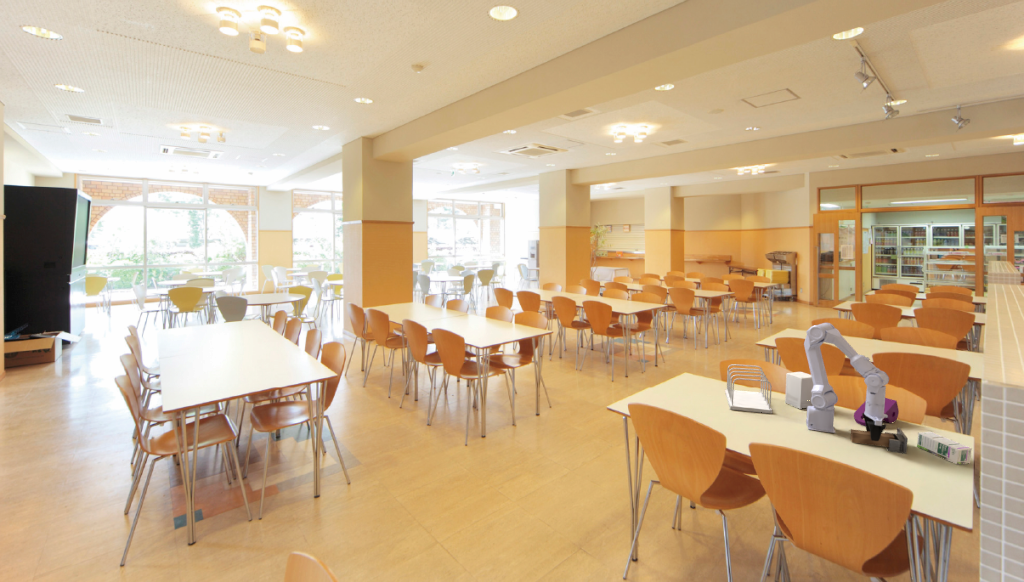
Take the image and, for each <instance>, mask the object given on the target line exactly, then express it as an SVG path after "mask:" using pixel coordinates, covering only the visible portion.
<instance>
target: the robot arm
mask: <svg viewBox="0 0 1024 582" xmlns="http://www.w3.org/2000/svg"><path fill="white" fill-rule="evenodd" d="M805 332H806V336H805V340H804V342H803V346H804V347H803V348H804V350H805V351H804V352H805V355H806V358H807V362H808V367H809V372H810V375H811V376H812V380H813V385H814V386H813V389H812V391H811V392H812V398H811V402H812V404H813V406H808V407H807V408H806V420H805V422H806V427H807V429H808V430H812V431H817V432H819V431H820V432H826V433H833V434H836V430H835V426H834V421H835V405H836V404H837V403H838V401H839V399H838V395H837V393H835V390H834V387H833V386H832V385H830V383H829V380H828V375H827V371H826V368H825V363H824V358H823V354H822V350H821V346H822V345H823V344H824V343H827V344H833V346H835V347H836V348H838V350H840V352H841V353H842V354H844V355H845V356H846V357H847V358H848V359H849V360H850V363H849V364H850V365H851V366H852V367H853V368H854V369H855V370H856V371H857V372H858V374H859V375H860V376H861V377H862V378H863V379H864V380H863V381H864V383H865V385H866V394H865V395H866V396H865V401H866V405H865V412H864V413H862V415H863V417H864V418H863V420H865V424H866V426H865V431H870V435H871V440H872V441H879V439H880V436H881V434H882V433H884V431H885V430H886V429H887V425H886V424H885V423H884V424H883V421H882V420H883V419H884V418H888V416H887V415H886V414H884V406H885V398H886V389H887V388H886V387H887V386H886V385H887V384H888V383H889V381H890V377H889V375H888V374H887V372H885V371H883V370H881V369H880V368H879V367H876V366H875V364H873V363H872V362H871V359H870V357H868V356H866V355H863V354H859V353H858V351H856V350H855V349H854V347H853V346H851V344H850V343H849V342H848V341H847V340H846V339H845V338H844V337H843V335H842V334H841V332H840V330H839V329H837V328H835V326H834V325H833V324H832V323H830V322H823V323H819V324H815V325H811V326H810V327H809V328H808V329H807V330H806V331H805Z"/></svg>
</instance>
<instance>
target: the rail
mask: <svg viewBox="0 0 1024 582" xmlns="http://www.w3.org/2000/svg"><path fill="white" fill-rule="evenodd" d="M889 439H894V440H895V437H894V436H893V434H887V433H885V432H882V434H881V436H880V439H879V441H872V440H871V435H870V431H867V430H862V429H861V430H860V429H854V428H853V429H852V428H851V429H850V441H851V443H852V444H855V443H856V444H862V445H869V446H877V447H885V448H886V447H889Z"/></svg>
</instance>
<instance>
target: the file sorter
mask: <svg viewBox="0 0 1024 582" xmlns="http://www.w3.org/2000/svg"><path fill="white" fill-rule="evenodd" d="M732 366H735V367H732ZM736 366H737V367H736ZM730 367H732V368H730ZM741 367H751V368H741ZM758 368H759V369H758ZM741 370H742V371H741ZM735 373H737V374H735ZM738 373H740V374H738ZM741 373H743V374H741ZM732 374H734V375H732ZM752 374H754V375H752ZM756 374H758V375H756ZM759 374H760V375H759ZM726 376H727V377H726V389H724V392H725V393H726V394H725V393H724V394H725V396H726V400H727V403H728V406H729V409H730V410H732V411H733V410H734V411H744V412H751V413H752V412H753V413H761V412H762V413H763V414H771V415H772V414H773V409H772V407H771V401H772V389H773V388H772V384H771V382H770V381H769V379H768V378H767V376H766V375H765V373H764V371H763V368H762V367H761V366H759V365H754V364H753V365H751V364H738V363H737V364H734V363H733V364H729V365H728V367H727V372H726ZM734 377H737V378H735V379H733V378H734ZM742 377H754V378H760V379H754V378H742ZM738 380H739V381H740V380H741V381H752V382H760V390H759V392H758V391H749V390H748V391H746V390H736V389H734V388H735V383H736V381H738ZM762 413H761V414H762Z"/></svg>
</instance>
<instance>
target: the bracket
mask: <svg viewBox="0 0 1024 582" xmlns="http://www.w3.org/2000/svg"><path fill="white" fill-rule="evenodd" d="M884 433H887V434H893V436H894V437H895V440H894V439H889V447H885V449H886V450H887V452H892V453H898V454H905V455H906V454H907V451H908V442H909V441H908V437H907V435H906V434H905V433H904V432H903V430H902V429H901V428H900V427H896V433H895V432H888V431H886V432H884Z"/></svg>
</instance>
